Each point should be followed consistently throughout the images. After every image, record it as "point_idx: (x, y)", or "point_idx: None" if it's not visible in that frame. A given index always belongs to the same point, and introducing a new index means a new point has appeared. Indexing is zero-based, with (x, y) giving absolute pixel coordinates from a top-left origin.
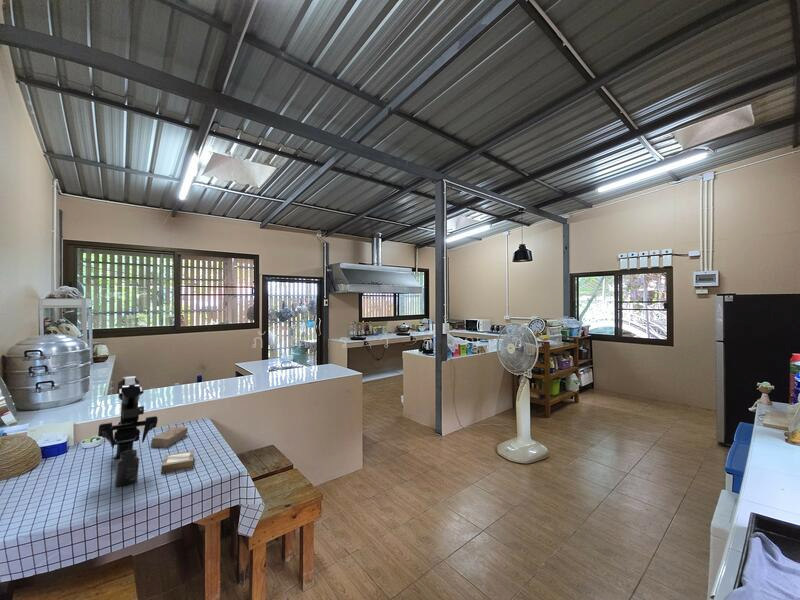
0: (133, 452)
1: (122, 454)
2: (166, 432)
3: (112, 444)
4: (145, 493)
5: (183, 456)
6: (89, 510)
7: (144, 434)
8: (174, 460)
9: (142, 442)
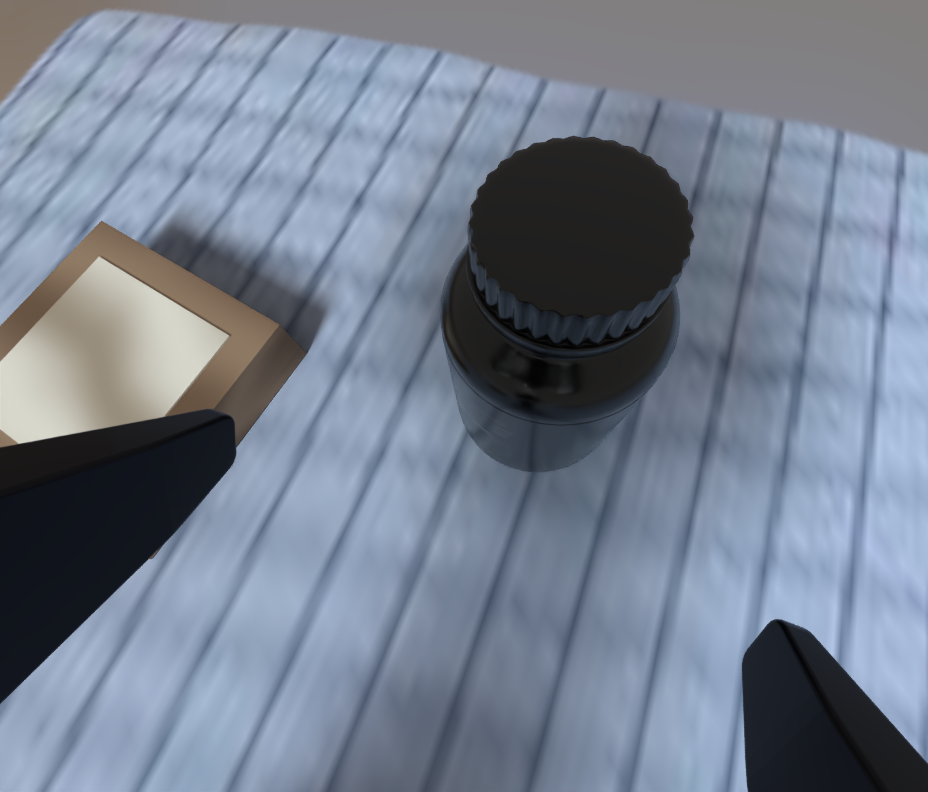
0: (540, 153)
1: (680, 202)
2: None
3: (851, 686)
4: None
5: (62, 358)
6: (807, 202)
7: (20, 466)
8: (158, 337)
9: (234, 440)
